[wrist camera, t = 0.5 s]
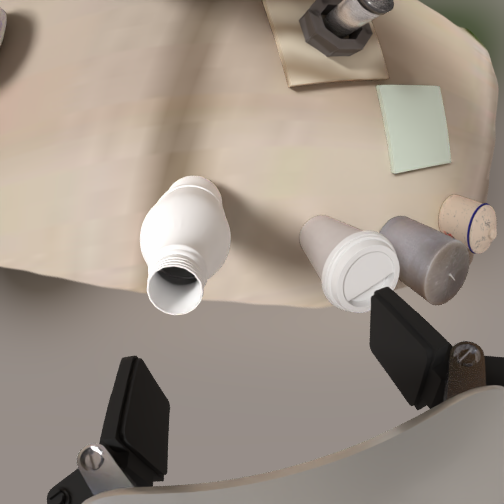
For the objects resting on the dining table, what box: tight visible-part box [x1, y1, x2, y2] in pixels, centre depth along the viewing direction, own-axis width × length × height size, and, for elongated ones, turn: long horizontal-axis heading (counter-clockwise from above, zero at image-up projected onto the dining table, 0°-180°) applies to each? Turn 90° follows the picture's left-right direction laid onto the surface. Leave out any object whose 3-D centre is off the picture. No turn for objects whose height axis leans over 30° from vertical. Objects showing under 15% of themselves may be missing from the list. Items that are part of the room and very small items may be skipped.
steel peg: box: [322, 0, 394, 39], centre depth 23 cm, size 4×4×13 cm
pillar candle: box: [379, 216, 469, 305], centre depth 38 cm, size 10×10×15 cm
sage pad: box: [376, 85, 451, 174], centre depth 37 cm, size 14×14×1 cm
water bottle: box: [140, 176, 231, 315], centre depth 26 cm, size 7×7×25 cm
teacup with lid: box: [438, 195, 497, 254], centre depth 39 cm, size 12×9×12 cm
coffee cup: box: [299, 215, 400, 313], centre depth 35 cm, size 10×10×15 cm
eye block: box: [262, 0, 389, 87], centre depth 28 cm, size 16×16×6 cm
